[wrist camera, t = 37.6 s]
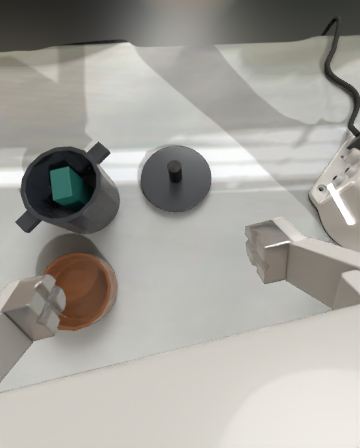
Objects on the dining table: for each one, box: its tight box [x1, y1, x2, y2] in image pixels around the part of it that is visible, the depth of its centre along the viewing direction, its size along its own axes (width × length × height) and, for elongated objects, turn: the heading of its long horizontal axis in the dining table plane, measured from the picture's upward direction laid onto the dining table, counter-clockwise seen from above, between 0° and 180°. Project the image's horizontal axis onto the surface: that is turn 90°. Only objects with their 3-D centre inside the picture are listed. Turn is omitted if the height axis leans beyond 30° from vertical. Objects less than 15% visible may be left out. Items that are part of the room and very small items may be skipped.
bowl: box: [43, 252, 118, 331], centre depth 38 cm, size 12×12×4 cm
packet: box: [50, 167, 93, 213], centre depth 39 cm, size 3×5×9 cm, turn 14°
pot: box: [16, 142, 120, 234], centre depth 39 cm, size 12×18×10 cm
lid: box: [141, 146, 211, 212], centre depth 41 cm, size 13×13×6 cm
